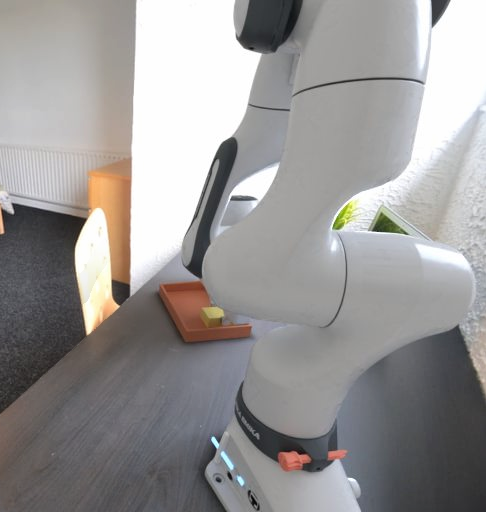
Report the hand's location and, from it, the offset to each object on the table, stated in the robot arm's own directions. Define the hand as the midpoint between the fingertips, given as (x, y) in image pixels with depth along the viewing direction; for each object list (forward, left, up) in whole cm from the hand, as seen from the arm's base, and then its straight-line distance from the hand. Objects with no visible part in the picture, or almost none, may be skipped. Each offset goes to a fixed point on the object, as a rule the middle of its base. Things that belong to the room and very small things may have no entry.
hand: (219, 316), depth 88 cm
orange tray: (+5, +3, -2) cm, 6 cm away
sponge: (0, 0, -2) cm, 2 cm away
